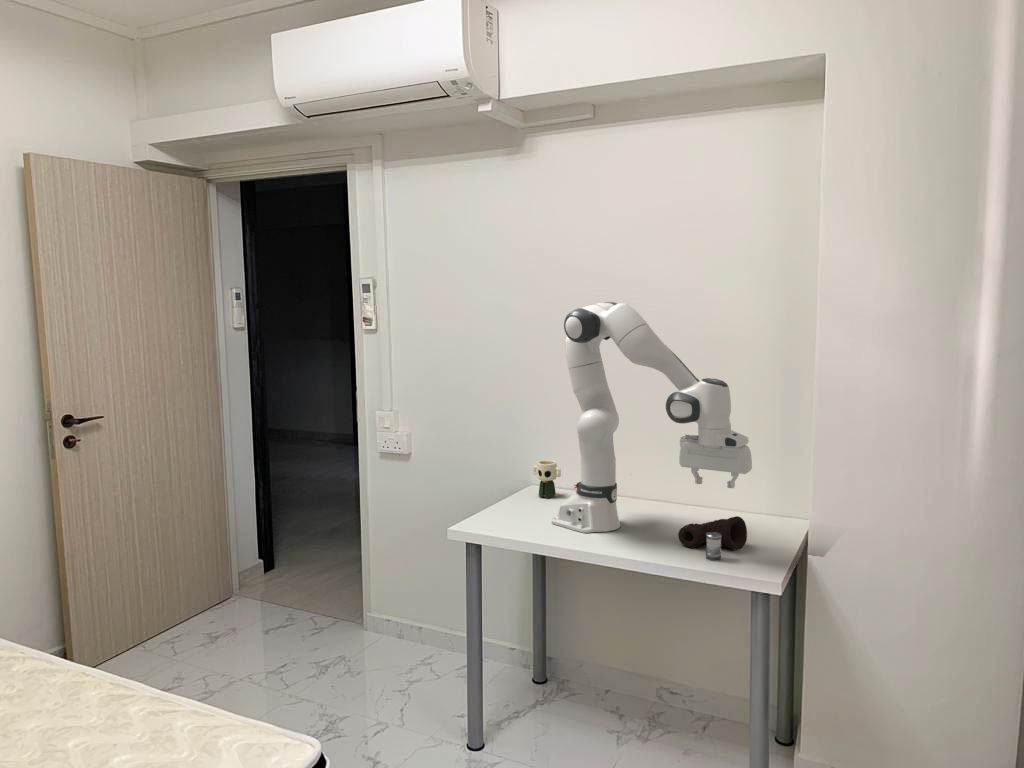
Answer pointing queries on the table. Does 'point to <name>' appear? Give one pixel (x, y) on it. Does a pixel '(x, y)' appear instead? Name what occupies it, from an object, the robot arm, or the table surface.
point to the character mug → (547, 477)
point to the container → (713, 546)
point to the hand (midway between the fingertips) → (714, 485)
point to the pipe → (728, 528)
